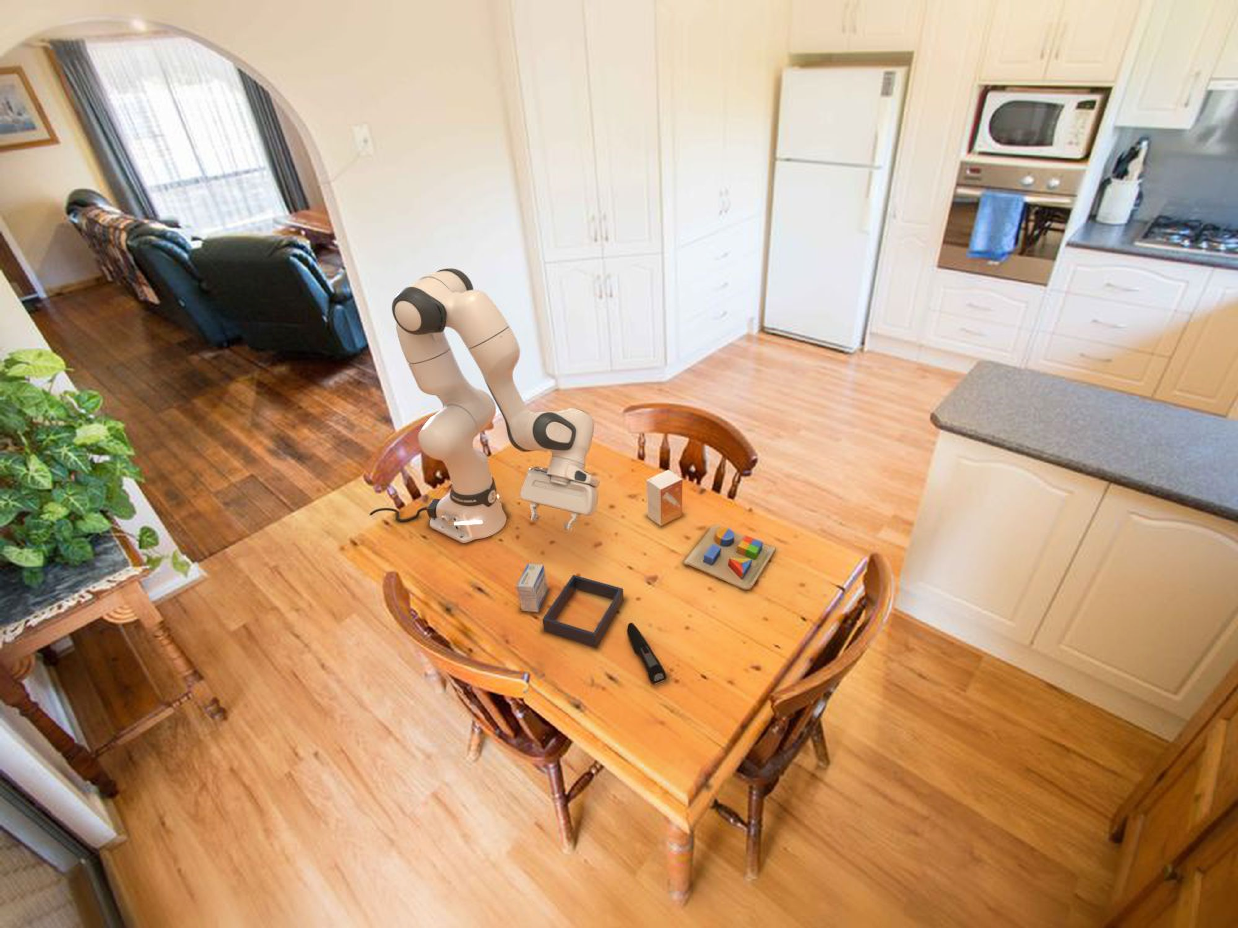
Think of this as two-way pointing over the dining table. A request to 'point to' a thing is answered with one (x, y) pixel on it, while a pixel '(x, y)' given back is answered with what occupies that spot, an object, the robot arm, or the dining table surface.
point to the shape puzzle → (730, 556)
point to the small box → (664, 497)
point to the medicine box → (532, 587)
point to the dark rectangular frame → (575, 632)
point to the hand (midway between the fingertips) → (550, 525)
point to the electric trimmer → (646, 655)
